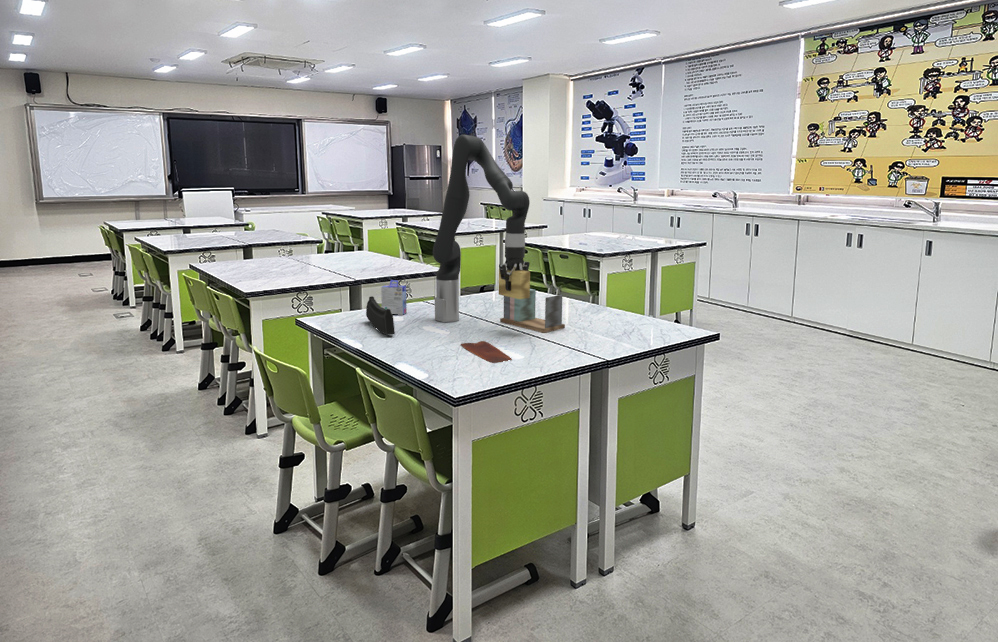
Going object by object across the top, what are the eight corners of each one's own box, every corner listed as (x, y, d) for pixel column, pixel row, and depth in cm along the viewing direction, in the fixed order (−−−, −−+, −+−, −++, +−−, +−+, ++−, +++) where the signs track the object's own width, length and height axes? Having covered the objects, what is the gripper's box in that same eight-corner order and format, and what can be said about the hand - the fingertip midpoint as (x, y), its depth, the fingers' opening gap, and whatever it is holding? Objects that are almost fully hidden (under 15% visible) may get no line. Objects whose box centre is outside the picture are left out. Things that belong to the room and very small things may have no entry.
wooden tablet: (458, 346, 245) (458, 342, 245) (484, 343, 249) (484, 339, 249) (488, 365, 222) (488, 360, 221) (516, 362, 226) (516, 357, 225)
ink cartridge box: (407, 312, 299) (406, 280, 295) (403, 315, 293) (402, 282, 290) (385, 312, 300) (384, 279, 297) (381, 314, 295) (380, 281, 292)
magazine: (396, 315, 252) (375, 280, 275) (387, 315, 250) (367, 280, 274) (393, 354, 260) (373, 317, 283) (385, 355, 258) (365, 318, 282)
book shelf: (543, 332, 263) (544, 298, 260) (500, 321, 282) (500, 289, 279) (564, 328, 271) (565, 294, 268) (521, 317, 289) (521, 286, 286)
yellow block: (519, 299, 255) (520, 272, 253) (498, 294, 264) (499, 268, 261) (529, 297, 258) (530, 271, 256) (508, 293, 267) (508, 267, 265)
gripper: (522, 243, 264) (520, 286, 268) (493, 245, 255) (493, 290, 258) (535, 244, 258) (534, 289, 262) (507, 247, 249) (506, 293, 253)
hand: (513, 289), depth 260 cm, fingers closed on yellow block, 5 cm apart
